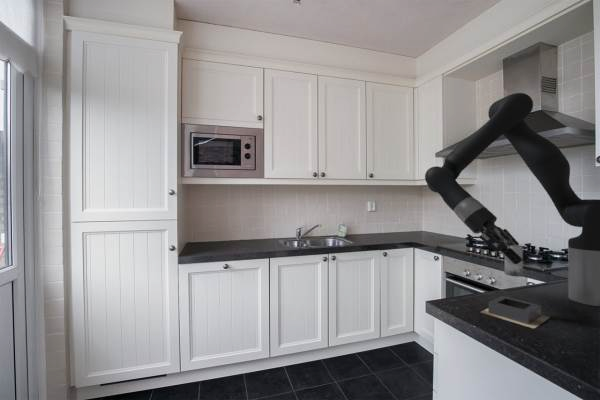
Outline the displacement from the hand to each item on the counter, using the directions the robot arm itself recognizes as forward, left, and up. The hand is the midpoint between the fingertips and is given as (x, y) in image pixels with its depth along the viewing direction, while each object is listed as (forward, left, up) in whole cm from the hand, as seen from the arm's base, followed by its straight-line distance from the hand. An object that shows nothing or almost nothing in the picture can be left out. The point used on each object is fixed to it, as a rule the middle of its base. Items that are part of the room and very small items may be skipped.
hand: (522, 261), depth 73 cm
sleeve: (0, -2, -15) cm, 15 cm away
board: (0, -2, -16) cm, 16 cm away
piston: (0, -2, -4) cm, 5 cm away
